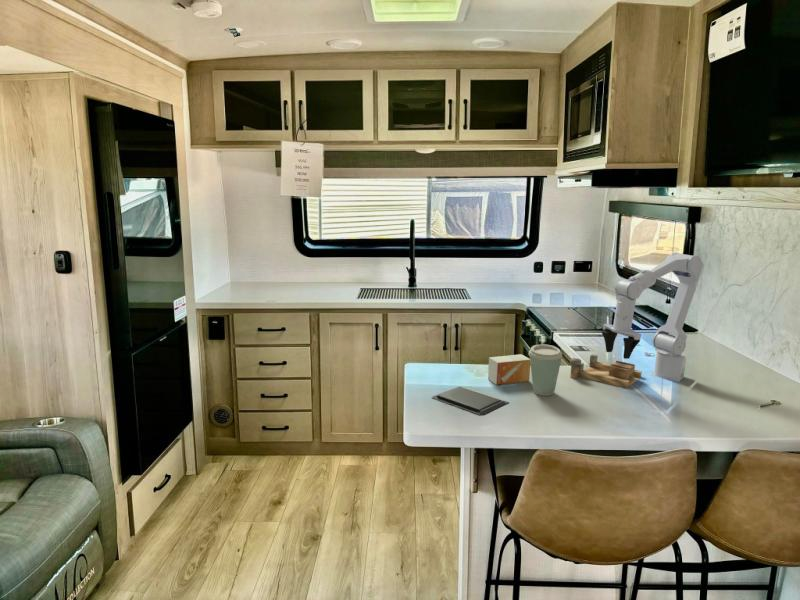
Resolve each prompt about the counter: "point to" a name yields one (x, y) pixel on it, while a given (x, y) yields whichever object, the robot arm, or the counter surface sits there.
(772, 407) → the counter surface
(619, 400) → the counter surface
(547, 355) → the disposable coffee cup
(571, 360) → the wooden base
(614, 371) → the crate
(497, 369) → the small box
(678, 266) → the robot arm
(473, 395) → the dark grey rectangular slab
